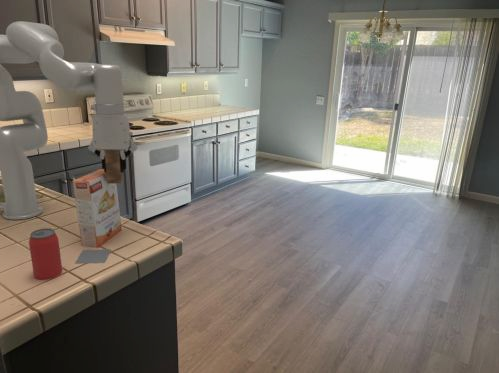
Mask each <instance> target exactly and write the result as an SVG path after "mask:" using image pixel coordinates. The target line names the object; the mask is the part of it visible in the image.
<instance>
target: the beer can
mask: <svg viewBox="0 0 499 373" xmlns="http://www.w3.org/2000/svg"><path fill="white" fill-rule="evenodd" d="M28 247H29V252H30V260H31V265H32V271H33V272H32V273H33V276H34V278H35V279H37V280H40V281H41V280H42V281H44V280H45V281H46V280H51V279H54V278H56V277H58V276H60V275H61V274H62V272H63V266H62V258H61V249H60V243H59V237H58V235H57V234H56V230H55V229H53V228H46V227H45V228H40V229H36V230H33V231H32V232H31V233H30V234H29V240H28Z"/></svg>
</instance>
